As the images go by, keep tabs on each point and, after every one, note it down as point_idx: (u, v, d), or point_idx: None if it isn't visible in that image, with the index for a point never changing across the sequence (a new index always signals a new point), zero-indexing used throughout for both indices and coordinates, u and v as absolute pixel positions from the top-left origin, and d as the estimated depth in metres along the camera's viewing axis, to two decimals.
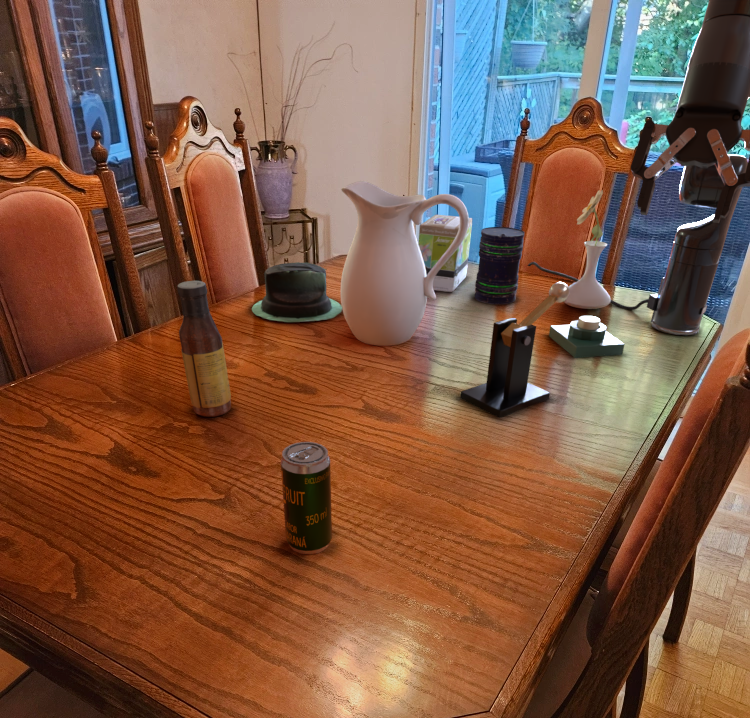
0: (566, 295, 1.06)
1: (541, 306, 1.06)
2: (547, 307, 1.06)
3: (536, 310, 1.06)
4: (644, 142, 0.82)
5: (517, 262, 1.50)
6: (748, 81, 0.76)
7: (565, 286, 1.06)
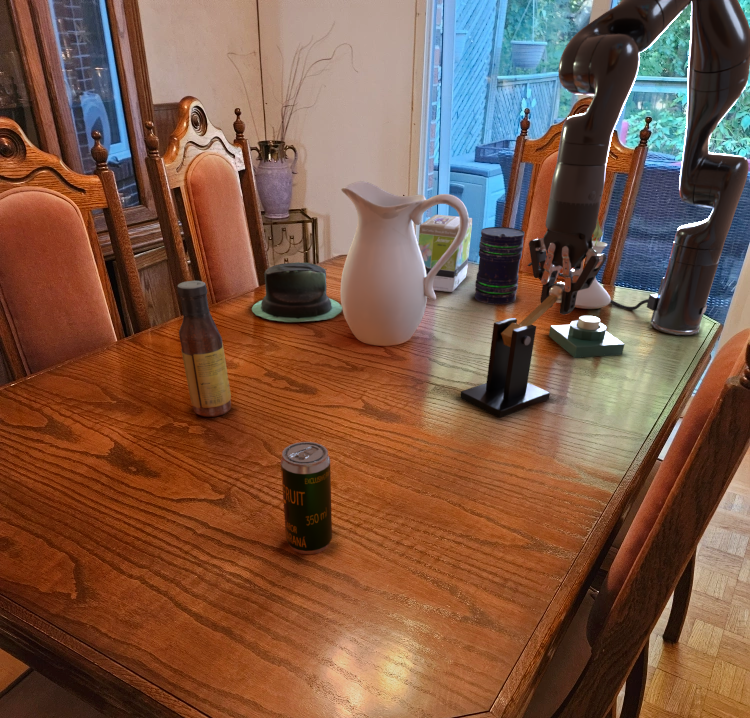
0: None
1: (541, 306, 1.06)
2: (547, 307, 1.06)
3: (536, 310, 1.06)
4: (534, 256, 1.07)
5: (517, 262, 1.50)
6: (584, 211, 0.97)
7: None
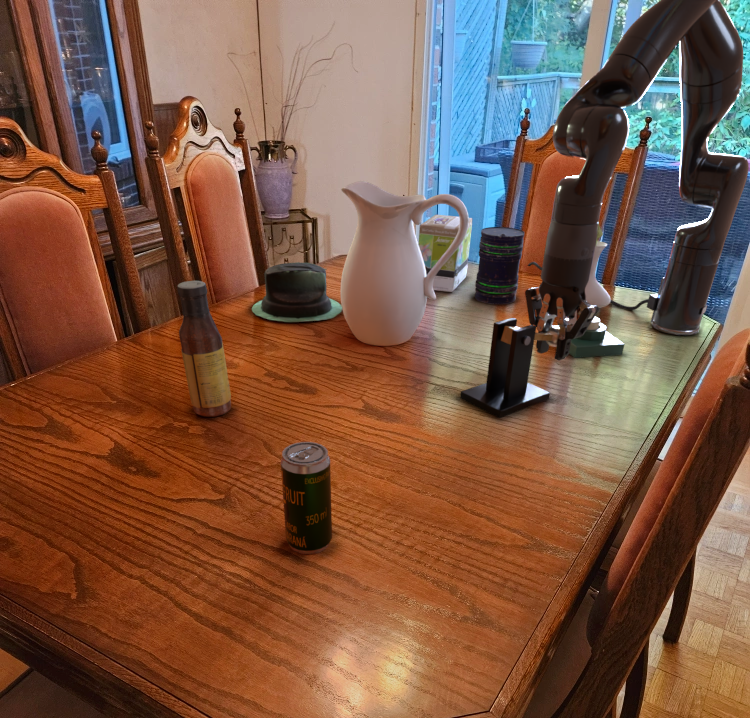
0: None
1: (540, 333, 1.09)
2: (544, 338, 1.09)
3: (536, 333, 1.08)
4: (530, 304, 1.12)
5: (517, 262, 1.50)
6: (578, 266, 1.02)
7: None
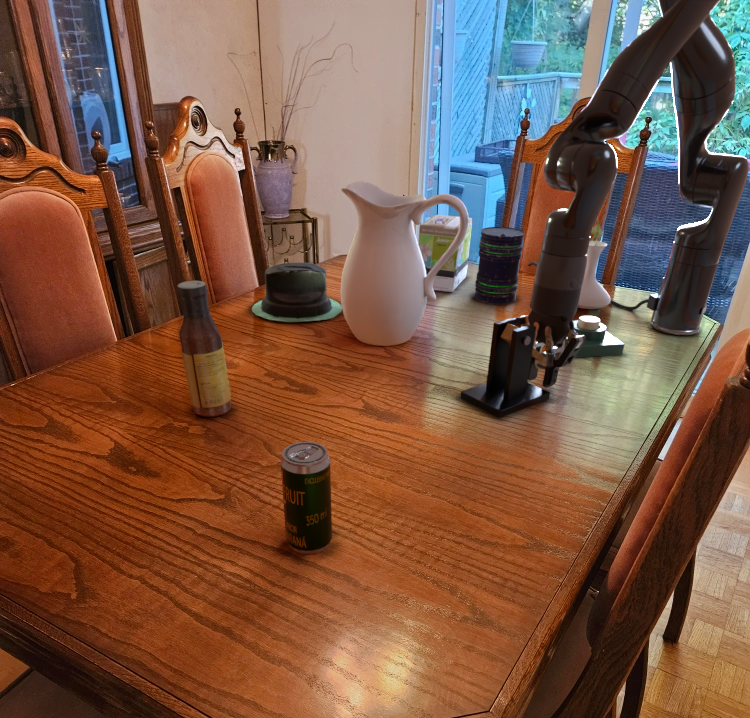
0: None
1: None
2: (537, 355, 1.10)
3: None
4: None
5: (517, 262, 1.50)
6: (566, 297, 1.04)
7: None
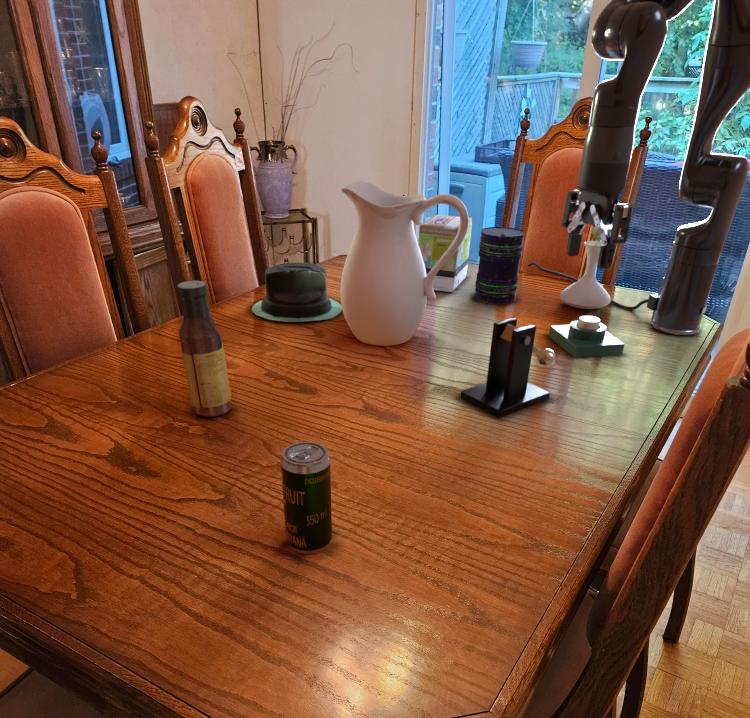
0: (552, 361, 1.12)
1: (535, 347, 1.10)
2: (538, 352, 1.10)
3: None
4: (567, 206, 1.15)
5: (517, 262, 1.50)
6: (609, 171, 1.04)
7: (555, 355, 1.13)
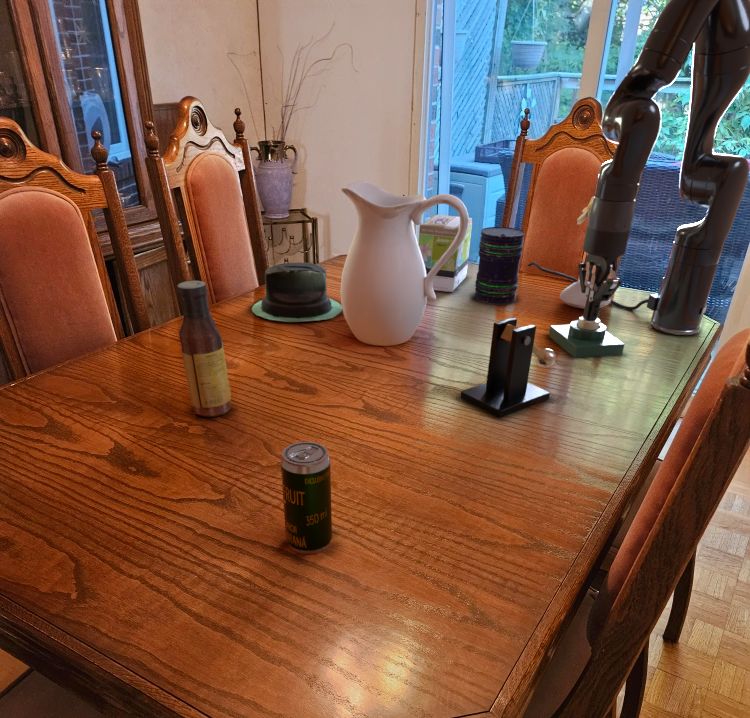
0: (552, 361, 1.12)
1: (535, 347, 1.10)
2: (538, 352, 1.10)
3: None
4: (581, 275, 1.29)
5: (517, 262, 1.50)
6: (608, 238, 1.18)
7: (555, 355, 1.13)
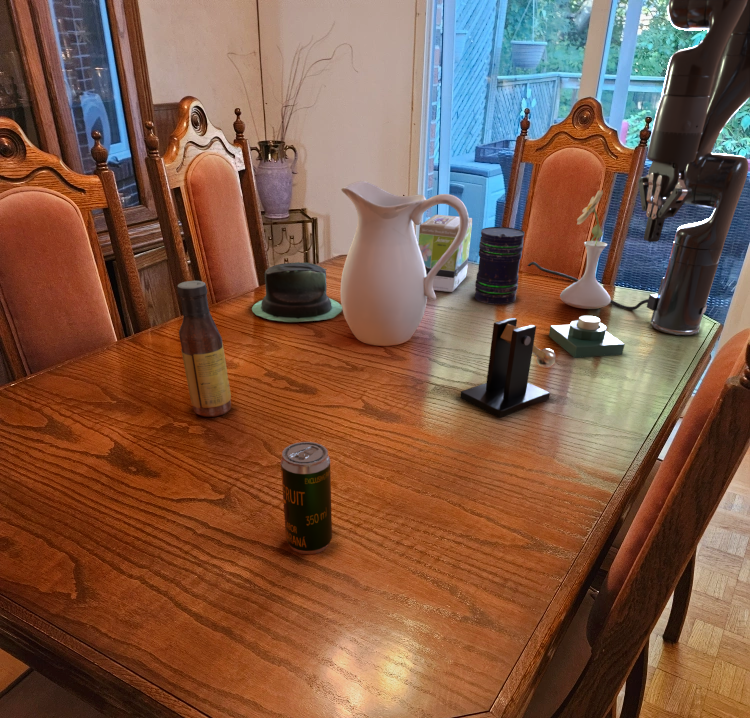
0: (552, 361, 1.12)
1: (535, 347, 1.10)
2: (538, 352, 1.10)
3: None
4: (642, 191, 1.16)
5: (517, 262, 1.50)
6: (677, 140, 1.05)
7: (555, 355, 1.13)
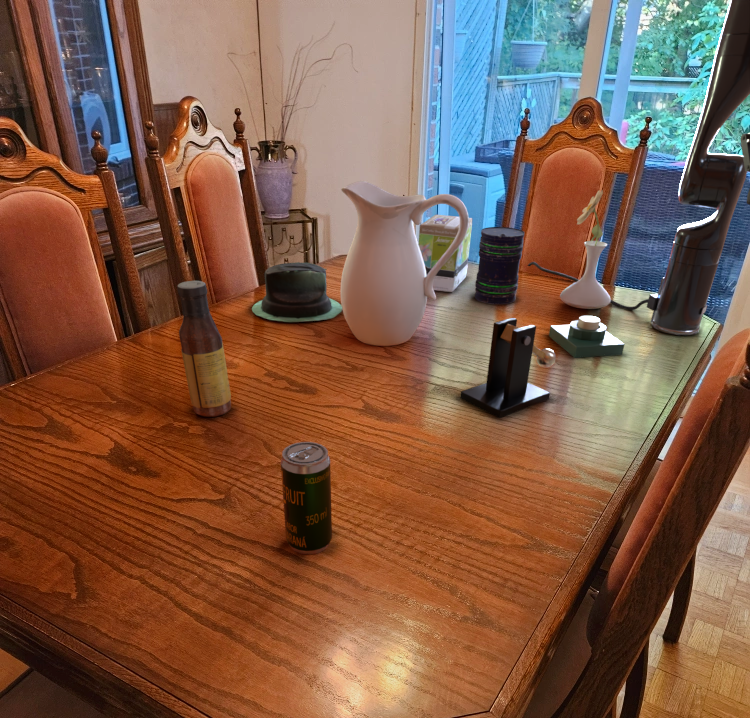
0: (552, 361, 1.12)
1: (535, 347, 1.10)
2: (538, 352, 1.10)
3: None
4: (745, 149, 1.04)
5: (517, 262, 1.50)
6: None
7: (555, 355, 1.13)
